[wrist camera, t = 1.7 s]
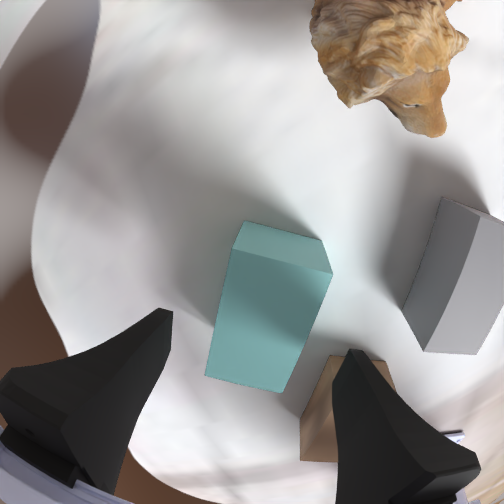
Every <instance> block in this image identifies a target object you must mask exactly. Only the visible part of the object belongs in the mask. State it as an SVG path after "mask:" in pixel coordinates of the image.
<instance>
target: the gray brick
mask: <svg viewBox="0 0 504 504" xmlns="http://www.w3.org/2000/svg"><path fill="white" fill-rule="evenodd" d="M503 304H504V222H503V221H501V220H499V219H497V218H495V217H493V216H491V215H489V214H487V213H484V212H482V211H479V210H476V209H474V208H471V207H469V206H466V205H463V204H461V203H458V202H455V201H452V200H450V199H447V198H444V197H441V201H440V205H439V208H438V212H437V215H436V218H435V222H434V225H433V228H432V231H431V235H430V238H429V241H428V244H427V247H426V250H425V252H424V255H423V258H422V261H421V264H420V266H419V269H418V272H417V274H416V277H415V280H414V282H413V285H412V287H411V290H410V292H409V294H408V297H407V299H406V302H405V304H404V306H403V309H402V313H403V315H404V317H405V319H406V320H407V322H408V324H409V326H410V328H411V329H412V331H413V333H414V335H415V337H416V339H417V341H418V342H419V344H420V346H421V348H422V350H423V352H433V353H448V354H468V355H476V354H477V353H478V351H479V349H480V348H481V346H482V344H483V342H484V341H485V339H486V337H487V335H488V333H489V332H490V330H491V328H492V326H493V324H494V322H495V320H496V318H497V316H498V314H499V312H500V310H501V308H502V306H503Z"/></svg>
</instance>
